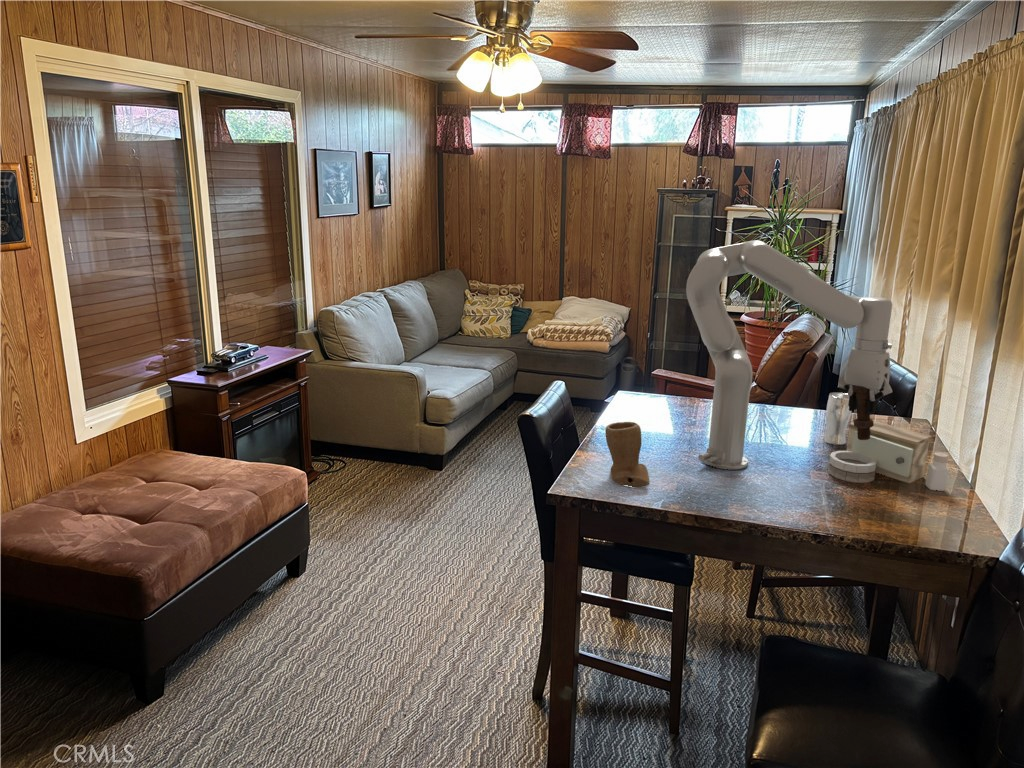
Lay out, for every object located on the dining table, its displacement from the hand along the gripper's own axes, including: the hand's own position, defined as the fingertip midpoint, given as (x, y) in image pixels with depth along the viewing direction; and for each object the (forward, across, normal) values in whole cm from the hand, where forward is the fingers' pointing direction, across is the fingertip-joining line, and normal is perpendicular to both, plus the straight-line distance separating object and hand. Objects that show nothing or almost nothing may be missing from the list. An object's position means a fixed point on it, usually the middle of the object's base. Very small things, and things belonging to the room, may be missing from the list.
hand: (861, 411), depth 195 cm
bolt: (+8, -2, -1) cm, 8 cm away
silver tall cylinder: (+18, +17, -22) cm, 33 cm away
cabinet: (+18, -3, -5) cm, 19 cm away
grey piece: (+15, -3, +1) cm, 16 cm away
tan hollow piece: (+18, +34, +53) cm, 66 cm away
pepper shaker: (+19, -18, -9) cm, 27 cm away
